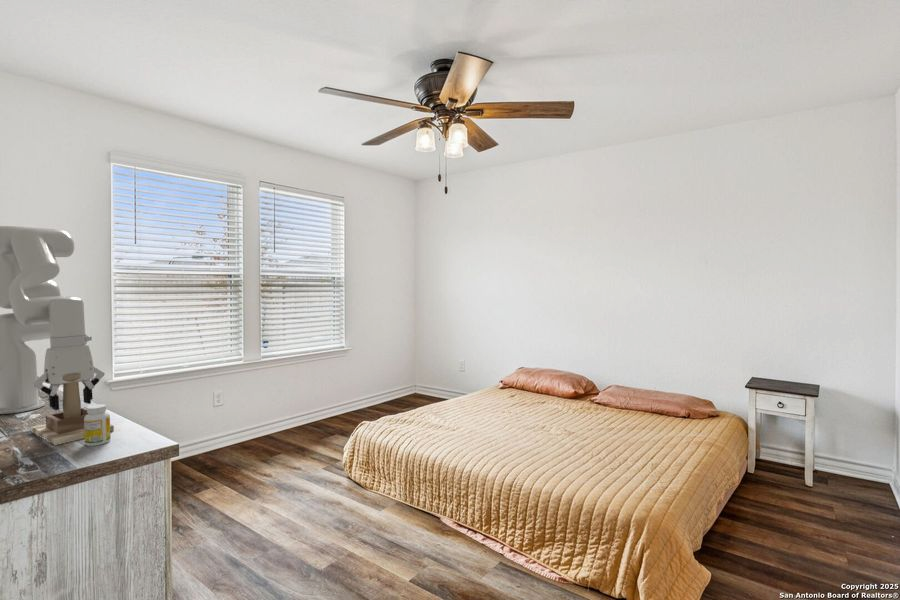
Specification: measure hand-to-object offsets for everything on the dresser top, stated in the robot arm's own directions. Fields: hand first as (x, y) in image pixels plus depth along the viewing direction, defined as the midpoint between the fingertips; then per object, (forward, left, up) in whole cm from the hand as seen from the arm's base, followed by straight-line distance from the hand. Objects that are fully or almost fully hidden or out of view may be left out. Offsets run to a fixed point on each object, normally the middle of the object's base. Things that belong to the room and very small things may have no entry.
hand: (71, 405), depth 127 cm
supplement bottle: (+16, +1, -8) cm, 18 cm away
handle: (0, 0, -6) cm, 6 cm away
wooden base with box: (0, 0, -7) cm, 7 cm away
